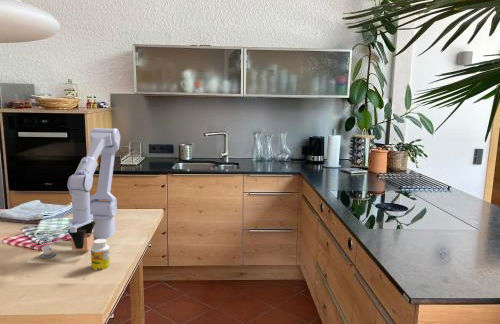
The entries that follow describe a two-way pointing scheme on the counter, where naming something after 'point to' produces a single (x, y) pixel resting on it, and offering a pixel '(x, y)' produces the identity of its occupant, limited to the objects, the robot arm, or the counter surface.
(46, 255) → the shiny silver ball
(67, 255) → the beige base plate
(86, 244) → the orange hollow cube
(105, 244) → the supplement bottle
